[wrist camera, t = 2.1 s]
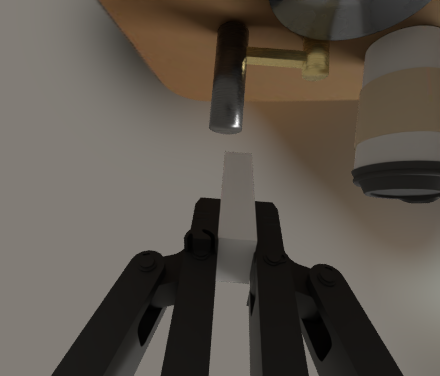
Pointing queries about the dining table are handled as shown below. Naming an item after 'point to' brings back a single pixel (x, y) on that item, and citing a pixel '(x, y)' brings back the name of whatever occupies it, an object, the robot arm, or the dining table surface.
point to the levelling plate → (342, 16)
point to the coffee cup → (400, 117)
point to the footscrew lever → (242, 55)
